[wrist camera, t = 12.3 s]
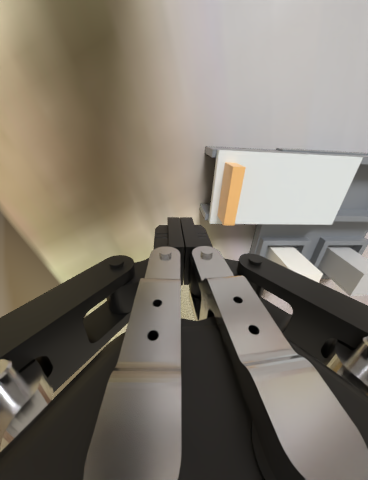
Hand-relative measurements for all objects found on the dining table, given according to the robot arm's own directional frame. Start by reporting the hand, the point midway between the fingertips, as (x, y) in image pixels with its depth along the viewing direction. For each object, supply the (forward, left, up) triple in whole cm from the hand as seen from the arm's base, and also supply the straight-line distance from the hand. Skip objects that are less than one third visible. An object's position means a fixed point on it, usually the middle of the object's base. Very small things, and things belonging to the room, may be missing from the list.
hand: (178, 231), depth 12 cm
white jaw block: (+18, -12, -14) cm, 25 cm away
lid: (+13, 0, -11) cm, 17 cm away
